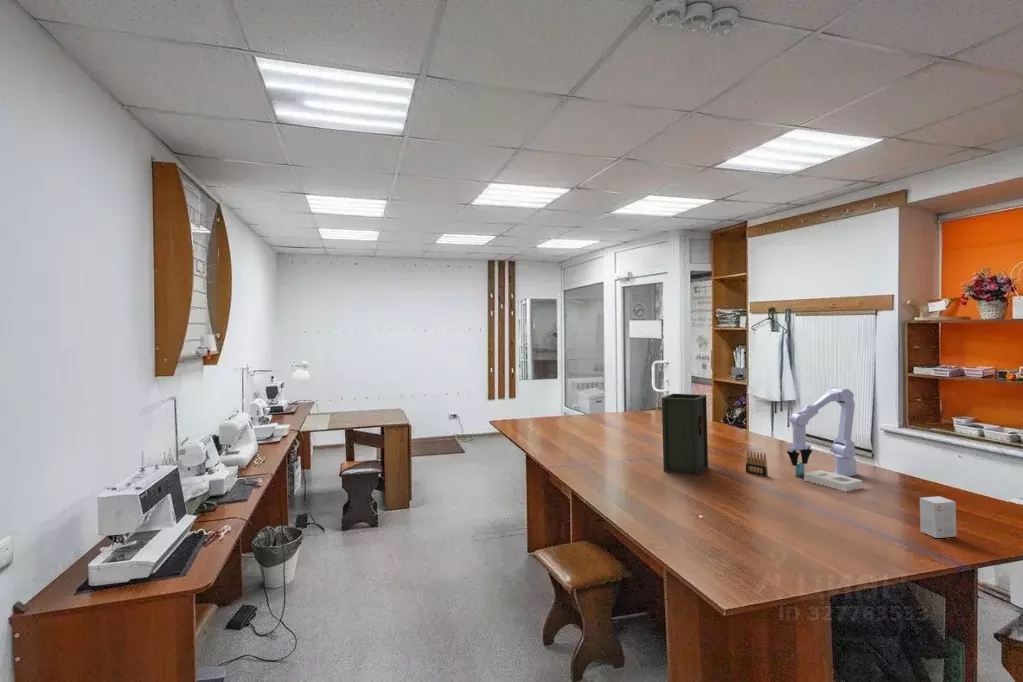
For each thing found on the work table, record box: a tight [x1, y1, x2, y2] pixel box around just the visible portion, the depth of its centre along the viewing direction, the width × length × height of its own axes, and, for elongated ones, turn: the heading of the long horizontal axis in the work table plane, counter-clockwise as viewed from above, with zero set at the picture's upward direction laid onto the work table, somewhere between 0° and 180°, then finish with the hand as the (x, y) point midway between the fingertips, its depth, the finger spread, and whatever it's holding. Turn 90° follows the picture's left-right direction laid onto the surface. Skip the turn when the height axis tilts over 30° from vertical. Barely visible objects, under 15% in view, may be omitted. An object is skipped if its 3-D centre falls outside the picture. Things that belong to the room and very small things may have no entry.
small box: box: [919, 495, 957, 538], centre depth 178 cm, size 8×6×13 cm
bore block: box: [803, 469, 863, 493], centre depth 238 cm, size 12×20×4 cm, turn 24°
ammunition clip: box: [745, 449, 769, 477], centre depth 258 cm, size 11×2×12 cm, turn 37°
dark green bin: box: [661, 393, 709, 477], centre depth 270 cm, size 18×18×40 cm
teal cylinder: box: [794, 461, 806, 479], centre depth 251 cm, size 4×4×7 cm
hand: (799, 464), depth 251 cm, fingers open, 7 cm apart
